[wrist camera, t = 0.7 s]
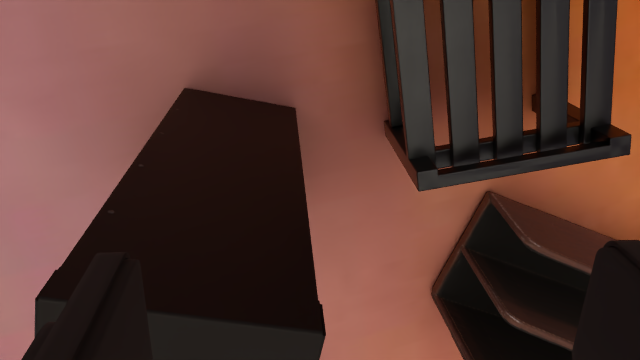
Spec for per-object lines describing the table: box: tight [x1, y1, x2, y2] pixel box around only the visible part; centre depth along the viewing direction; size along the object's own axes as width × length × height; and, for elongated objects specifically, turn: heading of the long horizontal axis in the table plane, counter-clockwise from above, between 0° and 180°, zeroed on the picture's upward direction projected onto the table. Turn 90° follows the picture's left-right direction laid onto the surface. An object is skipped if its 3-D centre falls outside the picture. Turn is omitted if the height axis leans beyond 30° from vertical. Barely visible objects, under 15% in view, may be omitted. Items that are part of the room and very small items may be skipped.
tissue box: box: [35, 88, 326, 360], centre depth 26 cm, size 8×8×28 cm
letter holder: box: [431, 192, 617, 360], centre depth 39 cm, size 10×20×14 cm, turn 67°
